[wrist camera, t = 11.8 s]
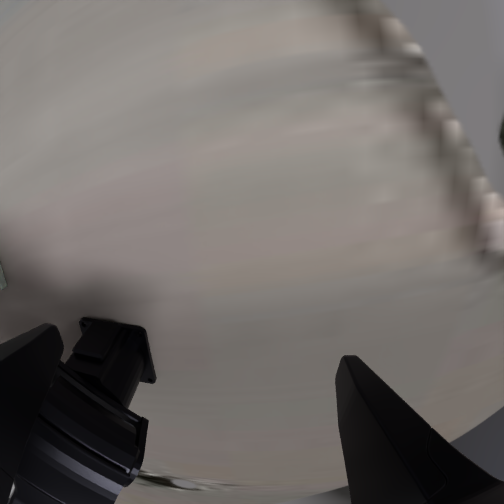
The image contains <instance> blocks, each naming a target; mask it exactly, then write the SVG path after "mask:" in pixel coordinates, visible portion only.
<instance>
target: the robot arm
mask: <svg viewBox="0 0 504 504" xmlns="http://www.w3.org/2000/svg"><path fill="white" fill-rule="evenodd" d="M79 325H80V328H81V331H82V334H83V335H82V337H81V338H80V340H79V341H78V342H77V344H76V345H75V346H74V348H73V350H72V351H73V353H72V355H71V356H70V357H69V359H68V360H67V362H66V363H65V364H64V363H63V362H62V361H61V360H60V358H61V356H62V353H63V349H64V345H63V341H62V339H61V336H60V333H59V331H58V328H57V327H56V326H55V325H53V324H49V323H45V324H43V325H40V326H38V327H36V328H34V329H32V330H30V331H28V332H26V333H23V334H21V335H19V336H17V337H15V338H13V339H11V340H9V341H7V342H5V343H3V344H0V504H114V503H115V500H116V498H117V496H118V494H119V493H120V491H121V489H122V487H127V486H128V485H130V484H131V483H132V481H133V480H134V479H135V477H136V476H137V474H138V472H139V470H140V468H141V466H142V462H143V459H144V452H145V444H146V436H147V429H148V422H149V420H147V419H146V418H144V417H140V416H139V415H137V414H135V413H134V412H132V411H130V410H129V409H128V408H129V405H130V403H131V400H132V398H133V396H134V393H135V391H136V389H137V386H138V384H139V382H145V383H150V384H153V383H155V381H156V374H155V370H154V366H153V361H152V357H151V352H150V347H149V342H148V337H147V332H146V330H145V329H144V328H142V327H139V326H132V325H125V324H119V323H113V322H106V321H101V320H95V319H89V318H82V319H81V320H80V321H79ZM139 332H140V333H142V334H140V333H139ZM335 385H336V398H337V413H338V426H339V433H340V438H341V444H342V449H343V455H344V461H345V466H346V472H347V479H348V485H349V491H350V498H351V504H504V481H501V480H499V479H497V478H495V477H493V476H492V475H490V474H489V473H487V472H486V471H485V470H483V469H482V468H481V467H479V466H478V465H476V464H475V463H474V462H472V461H471V460H470V459H468V458H467V457H466V456H464V455H463V454H462V453H461V452H459V451H458V450H457V449H456V448H454V447H453V446H452V445H451V444H450V443H449V442H447V441H446V440H445V439H444V438H443V437H442V436H441V435H440V434H439V433H438V432H437V431H435V430H434V429H433V428H431V426H430V425H429V424H428V423H427V422H426V421H425V420H424V419H423V418H422V417H421V416H420V415H418V414H417V413H416V412H415V411H414V410H413V409H412V408H411V407H410V406H409V405H408V404H407V403H406V402H405V401H404V400H403V399H402V398H401V397H400V396H399V395H398V394H396V393H395V392H394V391H393V390H392V389H391V388H390V387H389V386H388V385H387V384H386V383H385V382H384V381H383V380H382V379H381V378H380V377H379V376H378V375H377V374H376V373H374V372H373V371H372V370H371V369H370V368H369V367H368V366H367V365H366V364H365V363H364V362H363V361H362V360H361V359H360V358H359V357H358V356H356V355H344V356H343V357H342V358H341V361H340V364H339V367H338V370H337V373H336V378H335ZM13 483H14V486H15V488H14V490H13V492H12V494H11V490H12V486H13ZM10 494H11V496H10ZM9 497H10V499H9Z"/></svg>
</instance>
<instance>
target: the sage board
mask: <svg viewBox="0 0 504 504" xmlns="http://www.w3.org/2000/svg"><path fill="white" fill-rule="evenodd" d="M6 286H7V284H6V281H5V277H4V274H3V270H2V267H1V263H0V289H2V290H3V289H4V288H5V287H6Z"/></svg>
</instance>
